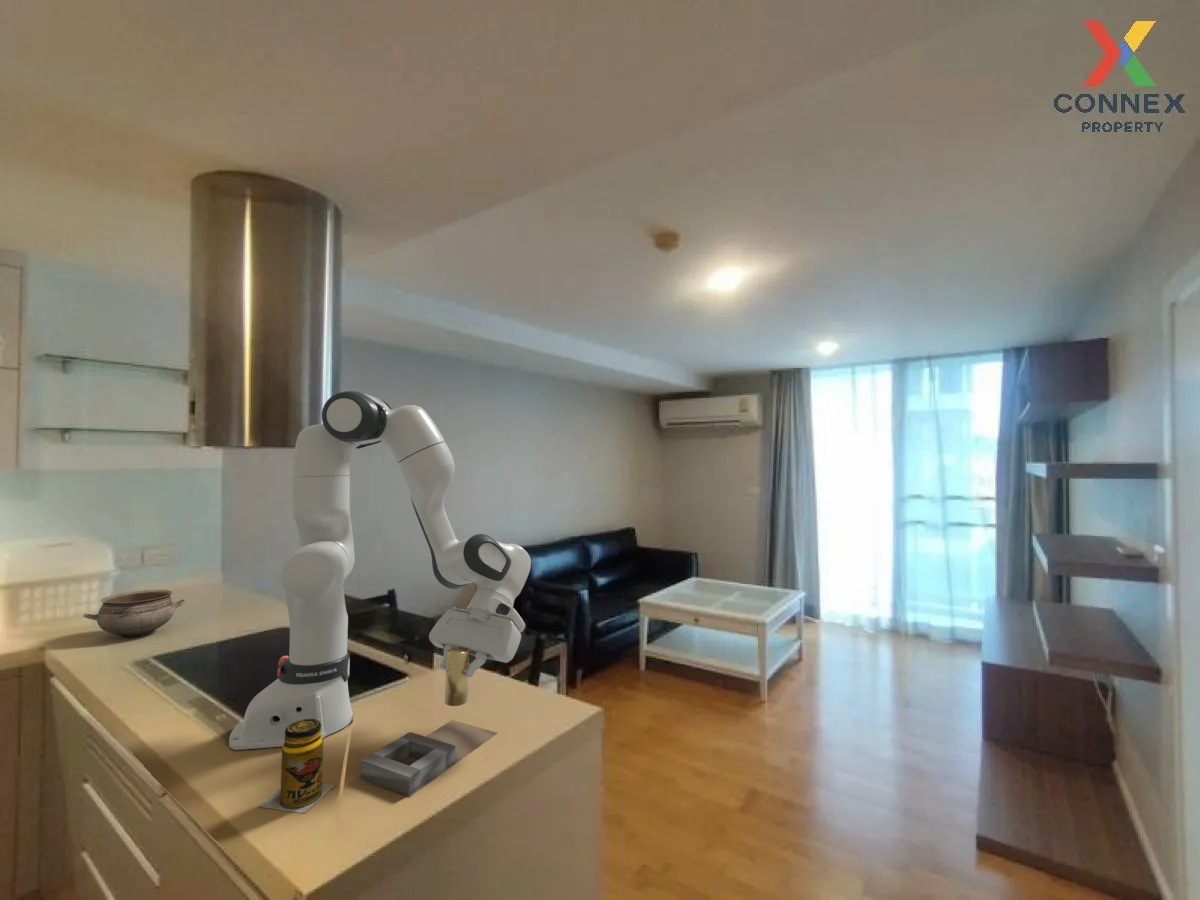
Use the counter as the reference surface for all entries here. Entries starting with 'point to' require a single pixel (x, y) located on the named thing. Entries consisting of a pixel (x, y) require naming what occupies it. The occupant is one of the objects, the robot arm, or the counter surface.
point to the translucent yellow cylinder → (456, 676)
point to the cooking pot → (135, 612)
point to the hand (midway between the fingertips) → (455, 672)
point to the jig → (421, 757)
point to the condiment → (300, 768)
